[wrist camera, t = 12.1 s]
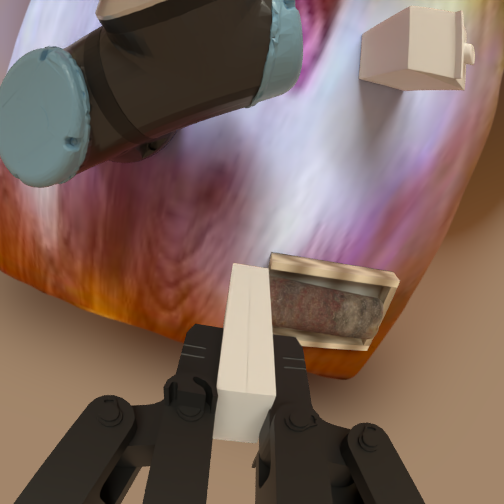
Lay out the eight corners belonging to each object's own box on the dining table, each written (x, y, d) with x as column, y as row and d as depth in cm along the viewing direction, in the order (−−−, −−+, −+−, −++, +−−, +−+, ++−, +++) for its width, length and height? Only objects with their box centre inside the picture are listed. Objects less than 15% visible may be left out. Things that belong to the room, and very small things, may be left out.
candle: (257, 276, 50) (367, 299, 51) (248, 321, 48) (360, 340, 50) (265, 269, 42) (389, 296, 44) (255, 322, 41) (382, 343, 42)
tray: (254, 328, 53) (253, 340, 50) (271, 252, 46) (272, 261, 44) (362, 340, 54) (366, 350, 52) (393, 272, 48) (399, 281, 45)
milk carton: (358, 79, 35) (428, 65, 18) (361, 33, 32) (429, -6, 15) (403, 91, 35) (489, 92, 18) (406, 47, 32) (489, 26, 15)
